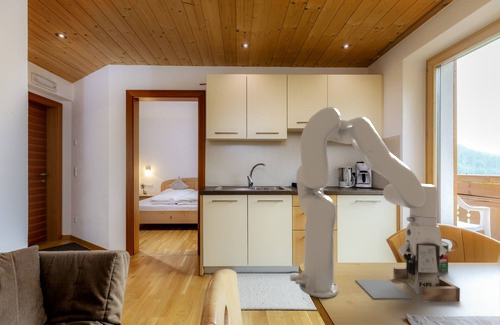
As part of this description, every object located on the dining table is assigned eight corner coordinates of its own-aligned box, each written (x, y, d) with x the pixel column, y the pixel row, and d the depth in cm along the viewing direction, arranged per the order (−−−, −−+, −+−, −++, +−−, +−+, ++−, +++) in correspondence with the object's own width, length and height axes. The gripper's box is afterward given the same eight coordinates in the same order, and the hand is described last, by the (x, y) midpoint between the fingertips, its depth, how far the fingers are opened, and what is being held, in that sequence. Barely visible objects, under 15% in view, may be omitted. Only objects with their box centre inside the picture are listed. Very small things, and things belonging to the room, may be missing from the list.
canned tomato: (437, 274, 95) (437, 246, 95) (418, 266, 103) (419, 239, 103) (453, 272, 97) (453, 244, 97) (434, 264, 105) (434, 238, 105)
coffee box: (440, 297, 79) (440, 246, 79) (417, 294, 80) (418, 244, 80) (426, 283, 88) (426, 237, 88) (405, 281, 89) (406, 236, 89)
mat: (373, 299, 77) (373, 297, 77) (355, 280, 89) (355, 279, 89) (411, 298, 78) (411, 297, 78) (388, 280, 90) (388, 279, 90)
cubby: (424, 301, 76) (424, 288, 76) (393, 278, 92) (393, 267, 92) (459, 301, 77) (459, 288, 77) (422, 278, 92) (423, 267, 92)
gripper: (405, 223, 80) (404, 278, 80) (457, 223, 81) (456, 278, 81) (390, 218, 88) (390, 268, 88) (438, 218, 88) (438, 268, 88)
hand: (422, 272), depth 84 cm, fingers closed on coffee box, 7 cm apart
